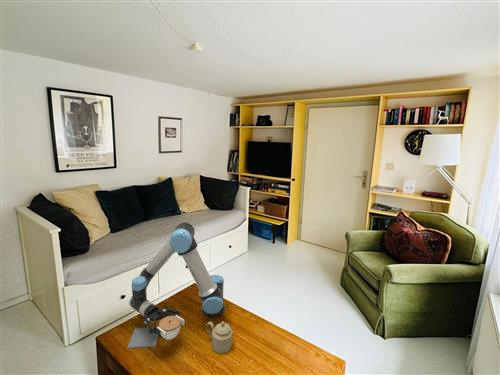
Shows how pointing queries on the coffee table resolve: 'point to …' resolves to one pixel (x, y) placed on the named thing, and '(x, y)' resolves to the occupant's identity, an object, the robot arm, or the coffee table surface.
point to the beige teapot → (220, 337)
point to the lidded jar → (170, 326)
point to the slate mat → (143, 338)
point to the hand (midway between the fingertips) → (175, 328)
